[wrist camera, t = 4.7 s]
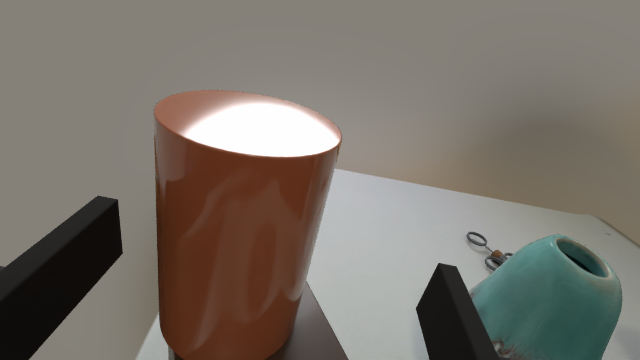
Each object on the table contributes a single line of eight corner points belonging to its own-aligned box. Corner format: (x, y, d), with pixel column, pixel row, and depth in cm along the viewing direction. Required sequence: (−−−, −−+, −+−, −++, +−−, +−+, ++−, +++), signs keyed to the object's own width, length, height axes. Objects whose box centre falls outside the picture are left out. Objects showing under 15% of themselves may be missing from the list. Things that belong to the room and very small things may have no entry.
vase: (570, 438, 30) (722, 302, 22) (482, 490, 25) (634, 340, 17) (476, 329, 39) (557, 204, 31) (397, 351, 34) (469, 210, 26)
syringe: (551, 329, 41) (558, 320, 41) (451, 238, 55) (455, 230, 54) (584, 317, 45) (591, 308, 44) (482, 234, 59) (486, 226, 58)
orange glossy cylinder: (142, 376, 14) (125, 142, 9) (173, 259, 20) (173, 80, 15) (305, 365, 16) (365, 167, 11) (288, 261, 22) (322, 103, 17)
